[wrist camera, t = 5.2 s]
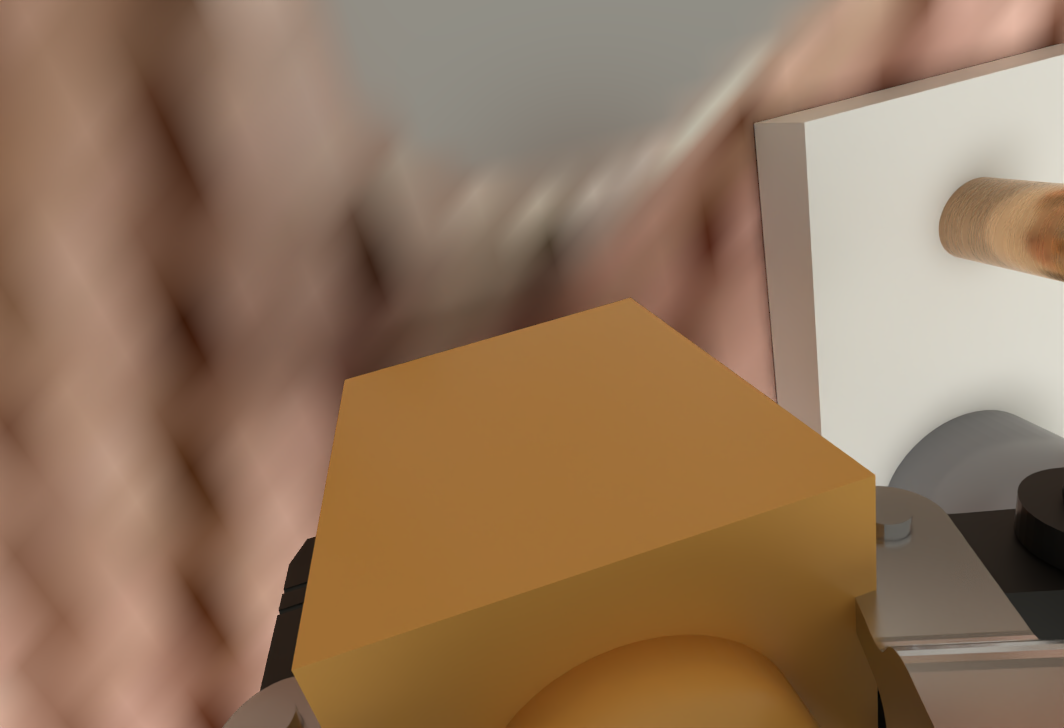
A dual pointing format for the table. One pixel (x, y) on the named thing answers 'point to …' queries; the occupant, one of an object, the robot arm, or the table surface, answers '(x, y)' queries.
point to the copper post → (1007, 225)
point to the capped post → (978, 461)
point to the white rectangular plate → (909, 259)
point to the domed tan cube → (585, 543)
